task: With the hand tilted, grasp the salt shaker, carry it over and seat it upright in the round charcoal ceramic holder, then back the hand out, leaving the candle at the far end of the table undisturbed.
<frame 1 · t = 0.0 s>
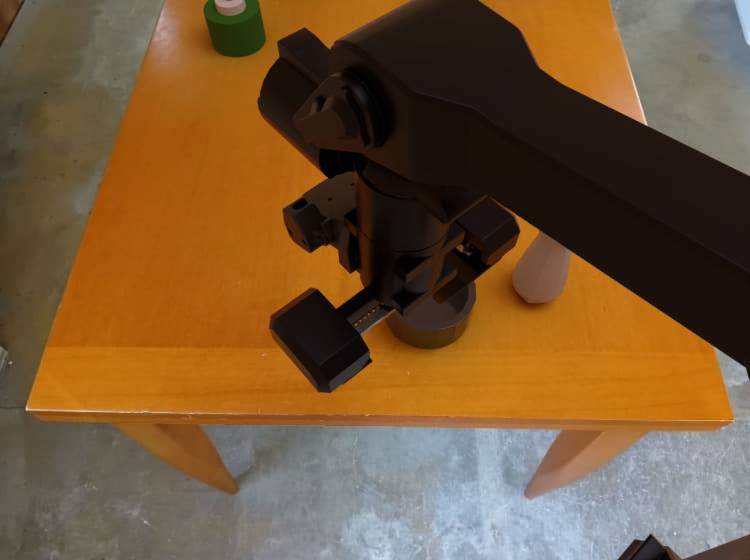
hand: (397, 331, 47), 13 cm above the table, tool pointing down, fingers open, 9 cm apart
salt shaker: (533, 289, 65), on the table
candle: (239, 41, 89), on the table
holder: (426, 309, 63), on the table
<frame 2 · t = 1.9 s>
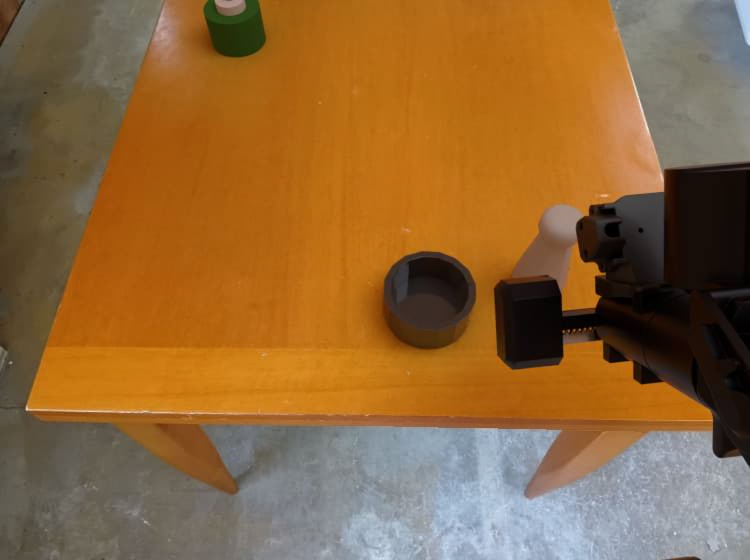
hand: (578, 289, 49), 13 cm above the table, tool tilted 40°, fingers open, 9 cm apart
nothing on the table moved.
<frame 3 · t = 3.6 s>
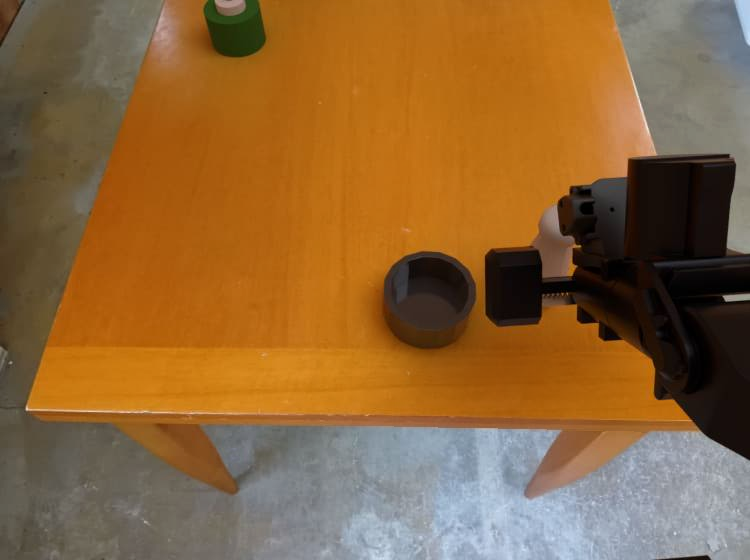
hand: (563, 260, 55), 10 cm above the table, tool tilted 45°, fingers open, 9 cm apart
nothing on the table moved.
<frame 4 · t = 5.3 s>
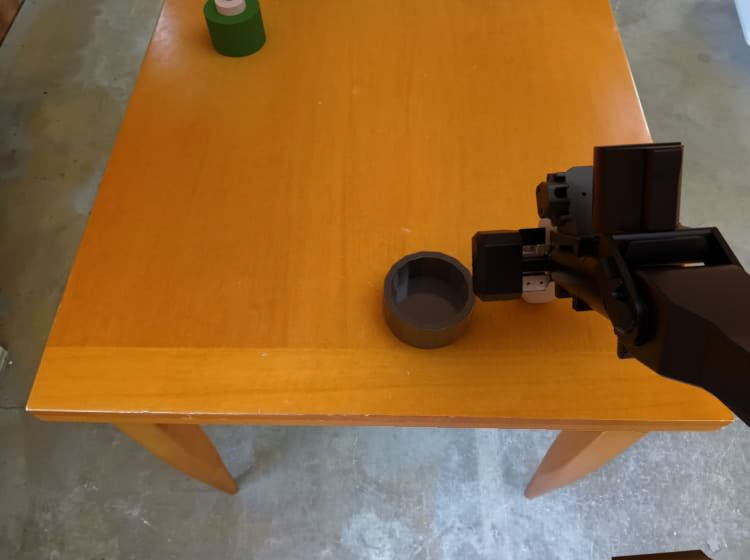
hand: (545, 245, 60), 7 cm above the table, tool tilted 45°, fingers closed on salt shaker, 3 cm apart
salt shaker: (533, 289, 65), on the table, touching gripper
everything else where it was.
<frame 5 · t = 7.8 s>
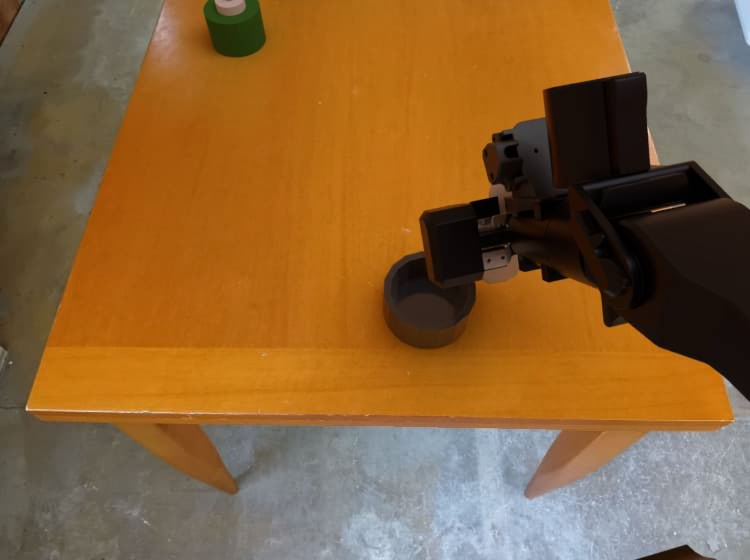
hand: (498, 218, 54), 12 cm above the table, tool tilted 45°, fingers closed on salt shaker, 3 cm apart
salt shaker: (492, 269, 59), point 5 cm above the table, touching gripper
everything else where it was.
when the fingers open (7 cm above the table, at t = 10.5 s): salt shaker stays where it is, resting on holder.
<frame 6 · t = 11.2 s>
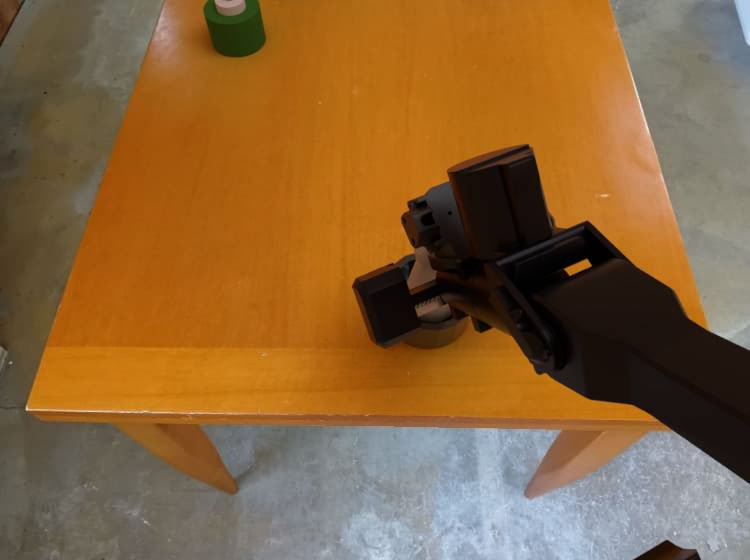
hand: (425, 261, 57), 8 cm above the table, tool tilted 45°, fingers open, 9 cm apart
salt shaker: (428, 309, 63), resting on holder
everything else where it was.
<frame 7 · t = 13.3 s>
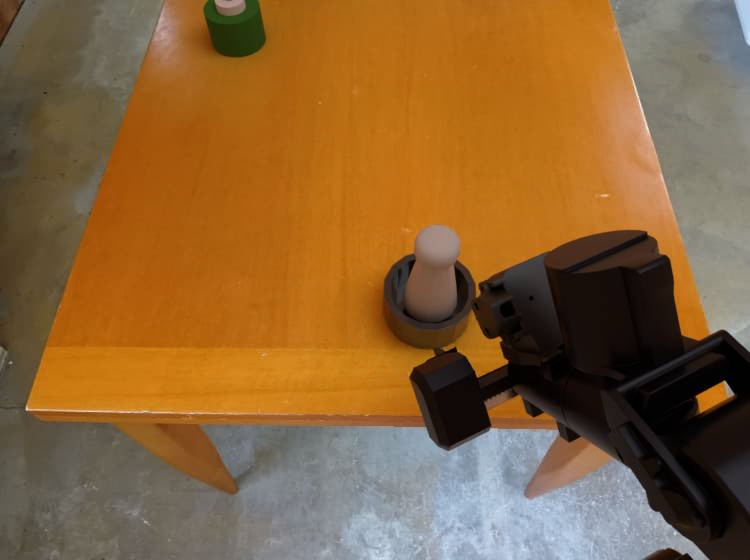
hand: (482, 332, 50), 10 cm above the table, tool tilted 45°, fingers open, 9 cm apart
nothing on the table moved.
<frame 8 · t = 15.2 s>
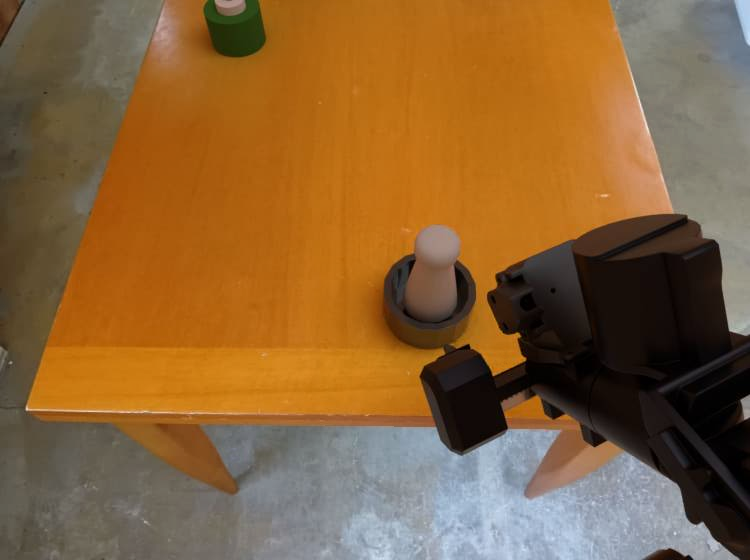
hand: (494, 328, 47), 13 cm above the table, tool tilted 45°, fingers open, 9 cm apart
nothing on the table moved.
at the end: salt shaker 0.2 cm off-centre in the holder, point 0.4 cm above the holder's base; salt shaker tilted 0°; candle moved 0.2 cm from its start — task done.
